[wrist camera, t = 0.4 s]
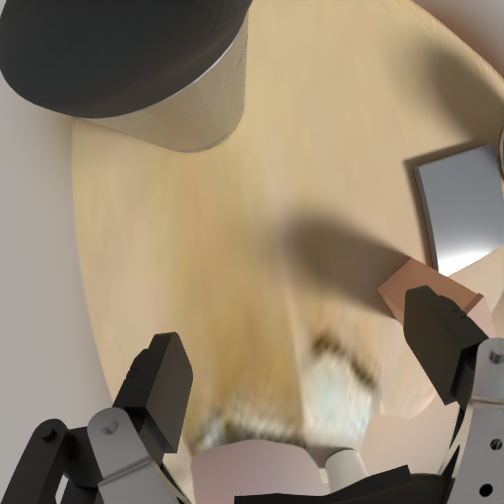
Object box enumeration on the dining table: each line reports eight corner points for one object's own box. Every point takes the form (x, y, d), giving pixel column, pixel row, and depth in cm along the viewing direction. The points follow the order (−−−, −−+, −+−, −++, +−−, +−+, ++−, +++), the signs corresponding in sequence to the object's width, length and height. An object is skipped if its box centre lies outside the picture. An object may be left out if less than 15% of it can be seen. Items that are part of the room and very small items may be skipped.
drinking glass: (331, 476, 37) (352, 551, 22) (311, 460, 35) (330, 545, 21) (370, 455, 36) (401, 530, 22) (353, 438, 35) (386, 523, 20)
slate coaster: (412, 167, 27) (418, 167, 25) (486, 144, 26) (493, 144, 25) (434, 276, 29) (440, 279, 28) (501, 240, 29) (507, 242, 28)
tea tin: (375, 288, 29) (435, 344, 18) (411, 256, 29) (484, 296, 17) (396, 321, 30) (453, 380, 19) (430, 290, 30) (497, 337, 18)
